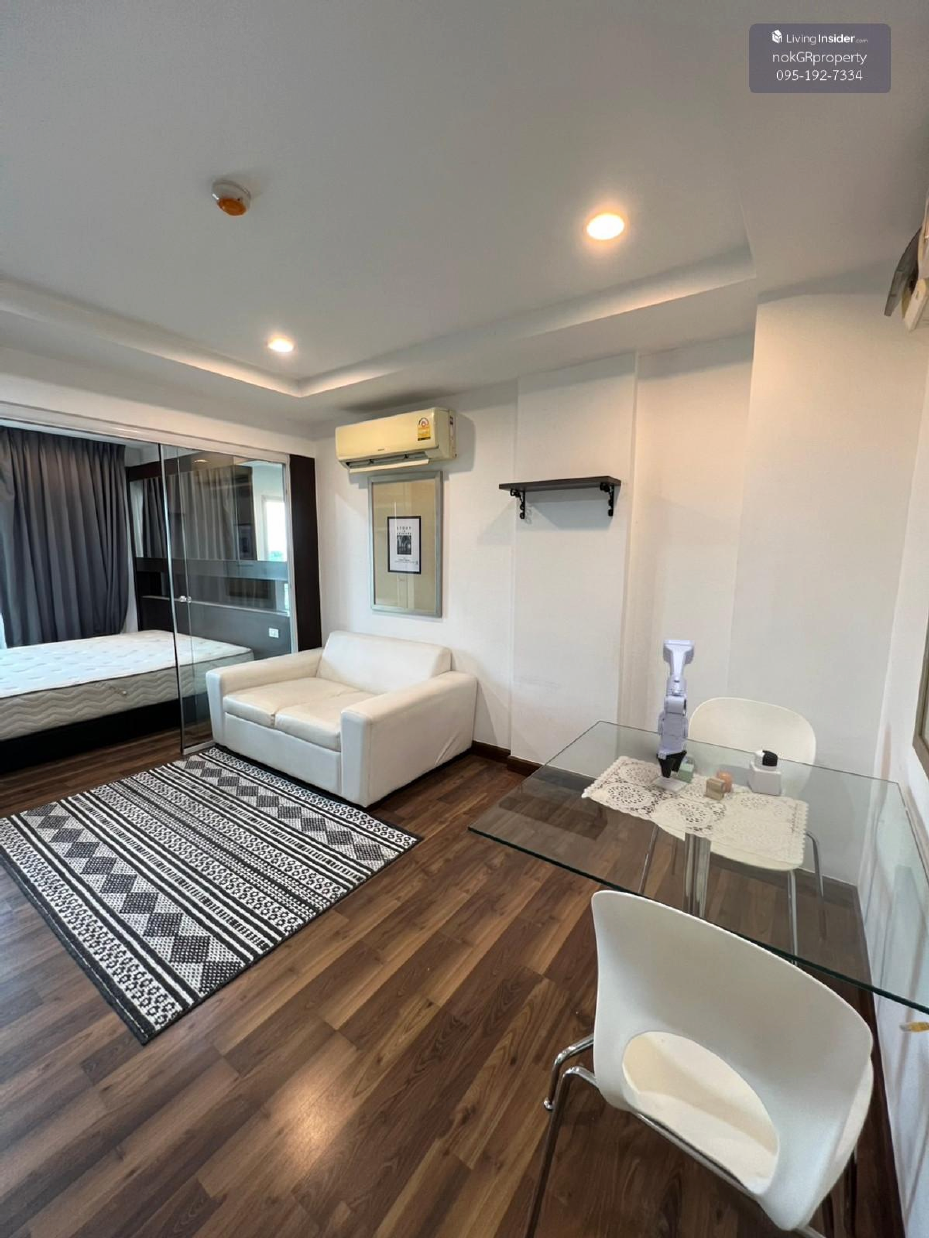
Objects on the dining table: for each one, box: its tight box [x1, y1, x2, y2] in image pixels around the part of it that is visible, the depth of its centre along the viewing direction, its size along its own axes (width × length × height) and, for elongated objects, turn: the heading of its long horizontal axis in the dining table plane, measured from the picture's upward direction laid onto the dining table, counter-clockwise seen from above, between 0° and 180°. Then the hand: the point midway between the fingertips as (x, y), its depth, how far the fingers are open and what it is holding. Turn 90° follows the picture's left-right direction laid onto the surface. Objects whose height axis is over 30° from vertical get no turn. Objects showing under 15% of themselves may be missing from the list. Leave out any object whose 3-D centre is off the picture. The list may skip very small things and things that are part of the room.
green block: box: [676, 762, 695, 784], centre depth 157 cm, size 4×4×6 cm
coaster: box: [651, 775, 689, 794], centre depth 153 cm, size 8×8×1 cm
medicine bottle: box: [747, 749, 782, 797], centre depth 150 cm, size 7×7×12 cm
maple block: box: [704, 776, 726, 802], centre depth 146 cm, size 4×4×5 cm
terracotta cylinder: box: [715, 770, 734, 793], centre depth 150 cm, size 4×4×5 cm
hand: (670, 774), depth 153 cm, fingers open, 5 cm apart
